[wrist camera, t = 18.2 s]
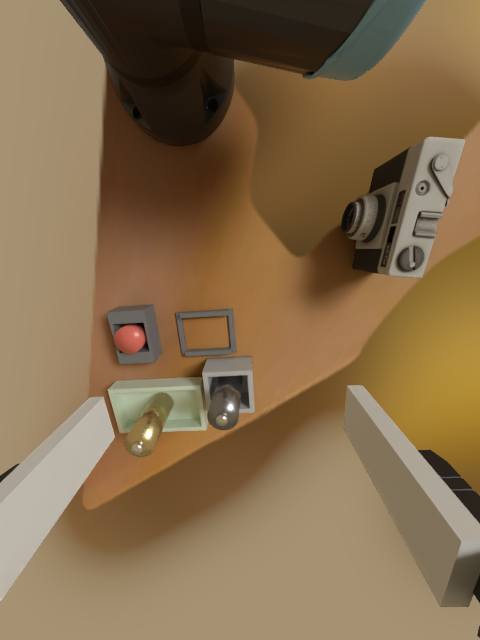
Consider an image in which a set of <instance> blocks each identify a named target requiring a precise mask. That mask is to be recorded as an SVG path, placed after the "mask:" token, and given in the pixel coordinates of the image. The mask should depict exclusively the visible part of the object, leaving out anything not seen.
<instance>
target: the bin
mask: <svg viewBox="0 0 480 640" xmlns="http://www.w3.org/2000/svg"><path fill="white" fill-rule="evenodd" d="M238 375H242V377H243V383H242V392H241V400H240V408H239V413H254V412H255V406H254V388H253V371H252V356H243V357H224V358H207V360H206V363H205V366H204V369H203V372H202V376H203V383H204V390H205V398H206V405H207V412H208V410H209V407H210V403H211V400H212V397H213V394H214V391H215V387H216V384H217V381H218V378H219V376H238Z"/></svg>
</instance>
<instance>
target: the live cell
mask: <svg viewBox="0 0 480 640" xmlns="http://www.w3.org/2000/svg"><path fill="white" fill-rule="evenodd" d="M173 406H174V401H173V399H172V397H171V396H170V395H168V394H167V393H163V392H159V393H156V394H154V395H153V396H152V398H151V399H150V401H149V402H148V404H147V406H146V407H145V409H144V410H143V412H142V413H141V415H140V417H139V418H138V420H137V421H136V423H135V425H134V426H133V428H132V429H131V431H130V432H129V434H128V436H127V437H126V439H125V441H124V446H125V448H126V450H127V451H128V452H129V453H130V454H132V455H134V456H138V457H145V456H148V455H149V454H151V453H152V451H153V449H154V447H155V445H156V443H157V441H158V438H159V436H160V434H161V432H162V430H163V428H164V425H165V423H166V421H167V419H168V417H169V415H170V412H171V410H172V408H173Z"/></svg>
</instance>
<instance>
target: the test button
mask: <svg viewBox="0 0 480 640" xmlns="http://www.w3.org/2000/svg"><path fill="white" fill-rule="evenodd" d="M146 342H147V336H146V332H145V330H144V329H143V328H142V327H141V326H139V325H137V324H127V325H125V326H123V327H122V328H120V329H119V330H117V331H116V333H115V335H114V343H115V345H116V347H117V348H118V349H119V350H120V351H122V352H124V353H127V354H133V353H136V352H138V351H139V350H140V349H141V348H142V347H143V346H144V345H145V344H146Z"/></svg>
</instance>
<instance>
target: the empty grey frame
mask: <svg viewBox="0 0 480 640" xmlns="http://www.w3.org/2000/svg"><path fill="white" fill-rule="evenodd" d="M226 315H228V319H229V330H230V341H231V347H229V348H211V349H192V350H187V349H186V342H185V336H184V329H183V323H182V318H193V317H210V316H226ZM176 318H177V324H178V330H179V337H180V343H181V349H182V355H186V356H203V355H222V354H231V352H236V345H235V333H234V320H233V309H223V310H207V311H190V312H176Z"/></svg>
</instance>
